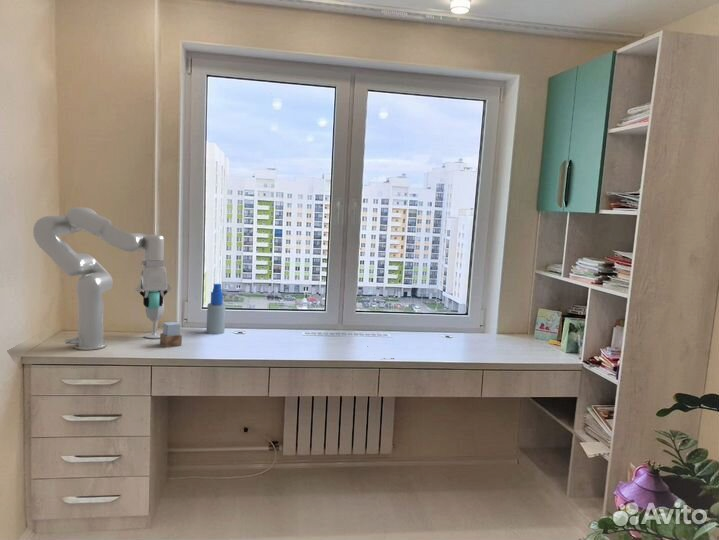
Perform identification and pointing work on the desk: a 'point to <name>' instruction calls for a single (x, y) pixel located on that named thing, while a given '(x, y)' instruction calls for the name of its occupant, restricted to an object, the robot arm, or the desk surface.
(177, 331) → the bluegrey cube
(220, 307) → the spray bottle
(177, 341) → the walnut base
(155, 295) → the teal cylinder
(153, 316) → the wineglass
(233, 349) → the desk surface
